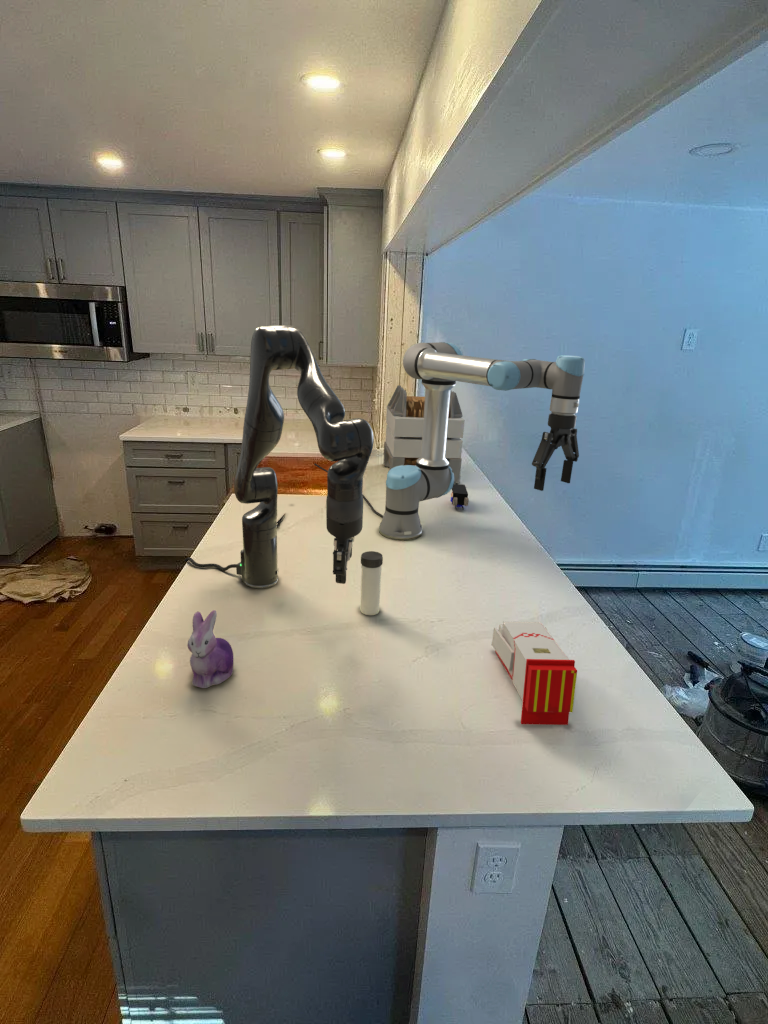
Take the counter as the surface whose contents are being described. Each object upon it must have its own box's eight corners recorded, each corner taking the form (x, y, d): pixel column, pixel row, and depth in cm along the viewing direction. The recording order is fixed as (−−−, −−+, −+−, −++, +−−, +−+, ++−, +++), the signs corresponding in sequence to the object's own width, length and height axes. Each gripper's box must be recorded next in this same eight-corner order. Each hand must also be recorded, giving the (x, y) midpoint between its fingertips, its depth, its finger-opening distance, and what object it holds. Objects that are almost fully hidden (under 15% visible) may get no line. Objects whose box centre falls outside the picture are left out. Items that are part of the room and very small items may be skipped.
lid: (386, 563, 144) (387, 555, 144) (372, 570, 140) (372, 562, 140) (370, 557, 148) (371, 549, 147) (356, 563, 144) (356, 555, 143)
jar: (383, 610, 149) (385, 557, 144) (370, 617, 145) (372, 563, 140) (369, 603, 152) (371, 551, 147) (356, 610, 148) (357, 556, 143)
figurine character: (468, 514, 225) (463, 498, 239) (470, 497, 222) (465, 482, 235) (451, 514, 225) (447, 498, 238) (453, 497, 222) (449, 481, 235)
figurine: (194, 695, 113) (188, 630, 108) (185, 667, 122) (179, 606, 117) (241, 683, 118) (238, 620, 112) (229, 657, 126) (226, 597, 121)
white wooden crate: (382, 463, 289) (386, 382, 275) (445, 464, 293) (451, 384, 279) (390, 482, 257) (394, 392, 243) (460, 483, 261) (468, 394, 247)
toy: (538, 606, 134) (586, 666, 105) (533, 659, 137) (578, 731, 108) (487, 605, 134) (521, 665, 105) (483, 658, 137) (515, 730, 107)
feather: (292, 507, 224) (294, 503, 223) (275, 531, 197) (278, 527, 197) (288, 505, 224) (291, 501, 223) (271, 528, 197) (273, 524, 197)
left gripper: (332, 489, 122) (332, 547, 132) (320, 529, 111) (321, 589, 120) (367, 492, 122) (364, 550, 131) (358, 533, 110) (356, 593, 120)
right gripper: (548, 419, 148) (537, 496, 155) (598, 411, 163) (586, 482, 171) (525, 414, 153) (515, 489, 160) (575, 407, 169) (564, 476, 176)
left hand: (343, 569), depth 126 cm, fingers open, 8 cm apart
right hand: (552, 485), depth 166 cm, fingers open, 13 cm apart
